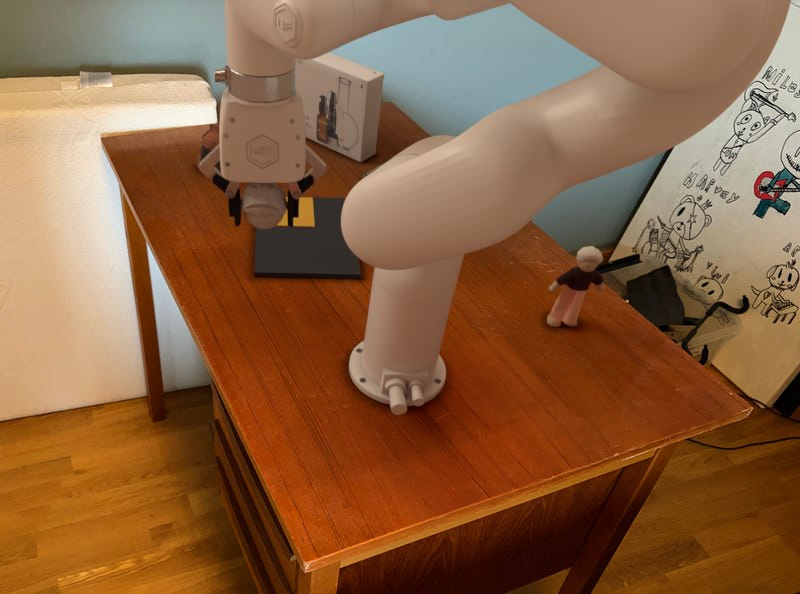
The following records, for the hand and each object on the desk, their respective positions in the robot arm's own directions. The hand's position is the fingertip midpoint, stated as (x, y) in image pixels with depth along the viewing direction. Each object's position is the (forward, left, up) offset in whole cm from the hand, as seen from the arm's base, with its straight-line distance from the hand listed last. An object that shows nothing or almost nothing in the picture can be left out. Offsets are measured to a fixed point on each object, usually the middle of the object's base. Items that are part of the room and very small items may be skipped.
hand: (264, 219), depth 89 cm
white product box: (+51, -11, -14) cm, 54 cm away
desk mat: (+17, -6, -14) cm, 23 cm away
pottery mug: (+39, +8, -14) cm, 42 cm away
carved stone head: (0, 0, -1) cm, 1 cm away
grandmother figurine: (-3, -43, -14) cm, 46 cm away
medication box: (+34, -21, -14) cm, 43 cm away
